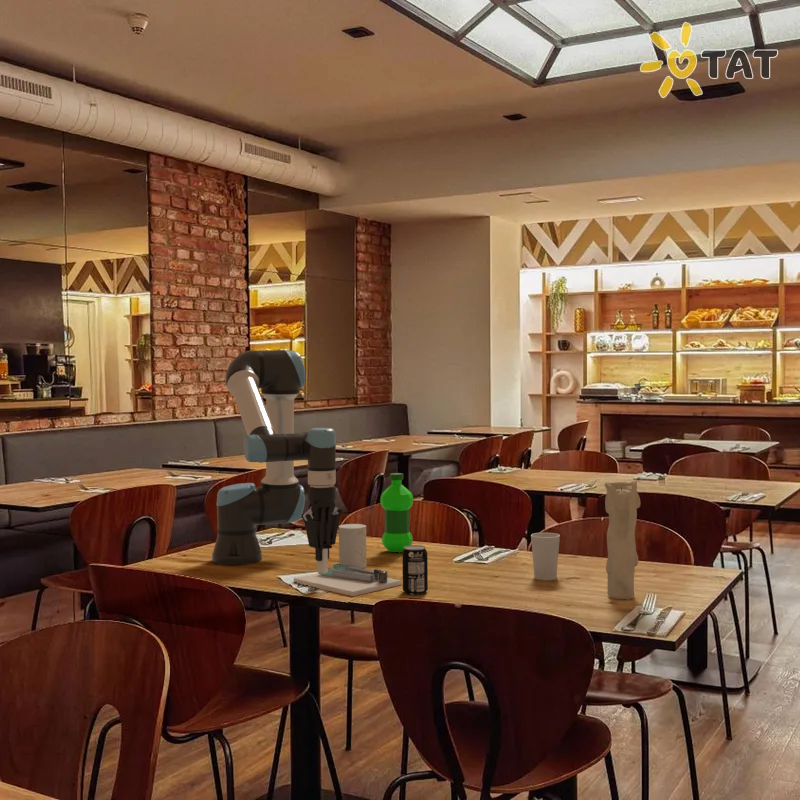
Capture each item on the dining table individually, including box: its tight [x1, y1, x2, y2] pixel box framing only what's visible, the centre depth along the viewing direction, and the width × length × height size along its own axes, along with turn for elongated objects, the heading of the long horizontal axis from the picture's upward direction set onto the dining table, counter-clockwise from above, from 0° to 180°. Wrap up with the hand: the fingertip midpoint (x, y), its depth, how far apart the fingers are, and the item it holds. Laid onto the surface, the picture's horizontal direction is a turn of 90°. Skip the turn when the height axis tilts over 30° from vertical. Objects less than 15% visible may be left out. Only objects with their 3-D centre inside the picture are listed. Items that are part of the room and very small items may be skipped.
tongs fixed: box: [332, 563, 389, 583], centre depth 272 cm, size 22×4×4 cm, turn 46°
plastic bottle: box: [379, 472, 414, 553], centre depth 314 cm, size 10×10×25 cm
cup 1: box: [338, 523, 368, 569], centre depth 292 cm, size 8×8×12 cm
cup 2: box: [530, 532, 561, 581], centre depth 274 cm, size 8×8×12 cm
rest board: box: [293, 572, 402, 597], centre depth 269 cm, size 24×18×1 cm
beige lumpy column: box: [604, 479, 641, 600], centre depth 249 cm, size 9×8×30 cm
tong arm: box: [317, 567, 375, 582], centre depth 270 cm, size 18×2×2 cm, turn 55°
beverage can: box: [401, 544, 429, 596], centre depth 258 cm, size 7×7×12 cm
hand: (322, 572), depth 266 cm, fingers closed
